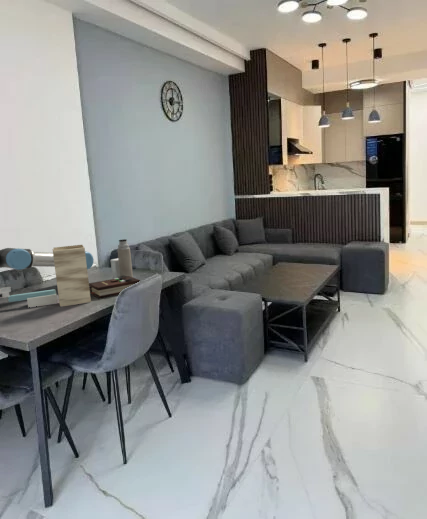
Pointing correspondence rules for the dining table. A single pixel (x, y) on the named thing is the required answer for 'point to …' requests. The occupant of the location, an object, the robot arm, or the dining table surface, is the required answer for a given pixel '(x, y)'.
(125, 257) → the thermos bottle
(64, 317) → the dining table surface
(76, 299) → the pedestal
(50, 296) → the dock
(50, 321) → the dining table surface
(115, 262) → the skincare box
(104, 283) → the decorative book
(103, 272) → the dining table surface
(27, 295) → the bar
